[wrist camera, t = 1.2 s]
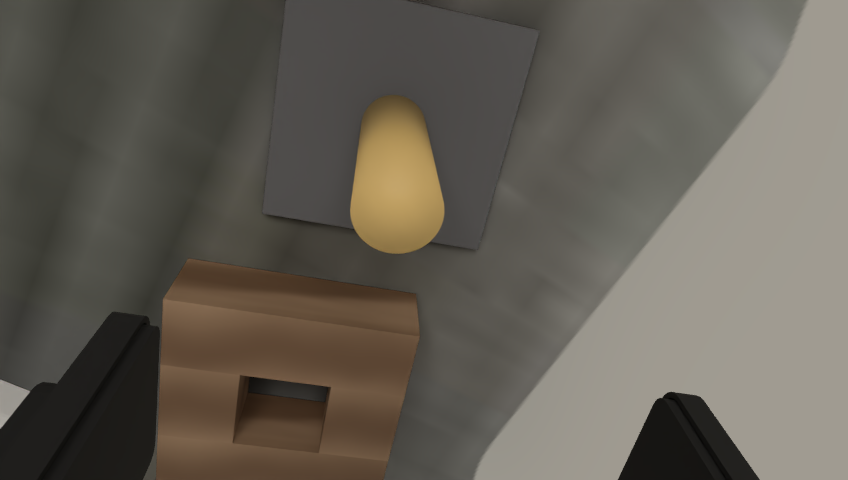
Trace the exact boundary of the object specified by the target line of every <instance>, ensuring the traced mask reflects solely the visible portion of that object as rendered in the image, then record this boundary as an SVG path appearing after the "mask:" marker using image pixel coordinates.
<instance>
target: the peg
mask: <svg viewBox="0 0 848 480" xmlns="http://www.w3.org/2000/svg"><path fill="white" fill-rule="evenodd" d="M350 215H351V221H352V224H353V226H354V229H355V231H356V232H357V234H358V235H359V236H360V238H361V239H362V240H363V241H364V242H366V243H367V244H368V245H370V246H371V247H373V248H375V249H377V250H379V251H382V252H386V253H393V254H402V253H408V252H412V251H415V250H418V249H420V248H421V247H423V246H425V245H426V244H428V243H429V242H430V241H431V240H432V239H433V238H434V237H435V236H436V234H437V233H438V231H439V230H440V228H441V225H442V222H443V219H444V201H443V197H442V193H441V188H440V184H439V179H438V175H437V171H436V166H435V162H434V157H433V153H432V149H431V144H430V140H429V136H428V131H427V127H426V122H425V118H424V115H423V113H422V111H421V109H420V108H419V107H418V106H417V105H416V104H415V103H414V102H413V101H412V100H410V99H408V98H406V97H403V96H399V95H387V96H383V97H381V98H378V99H377V100H375V101H374V102H372V103H371V104H370V105H369V106H368V108H367V109H366V111H365V112H364V115H363V118H362V122H361V130H360V137H359V145H358V153H357V160H356V168H355V176H354V183H353V191H352V198H351V207H350Z"/></svg>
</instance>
